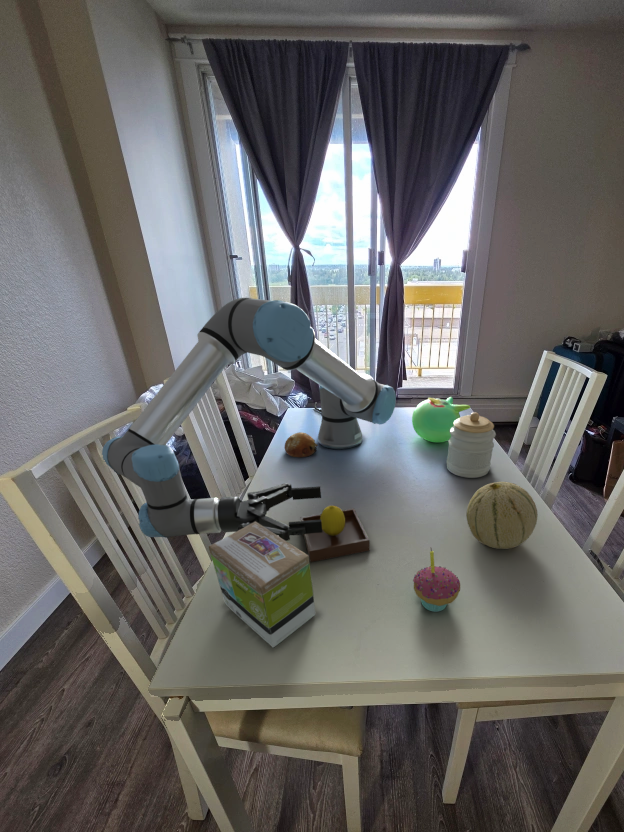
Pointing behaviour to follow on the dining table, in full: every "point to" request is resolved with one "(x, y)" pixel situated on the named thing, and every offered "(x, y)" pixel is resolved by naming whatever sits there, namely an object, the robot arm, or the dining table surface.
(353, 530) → the tray
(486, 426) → the jar
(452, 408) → the toy bird
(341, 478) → the dining table surface
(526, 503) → the cantaloupe
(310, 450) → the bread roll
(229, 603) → the tea box
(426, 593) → the cupcake
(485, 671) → the dining table surface
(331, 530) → the lemon
